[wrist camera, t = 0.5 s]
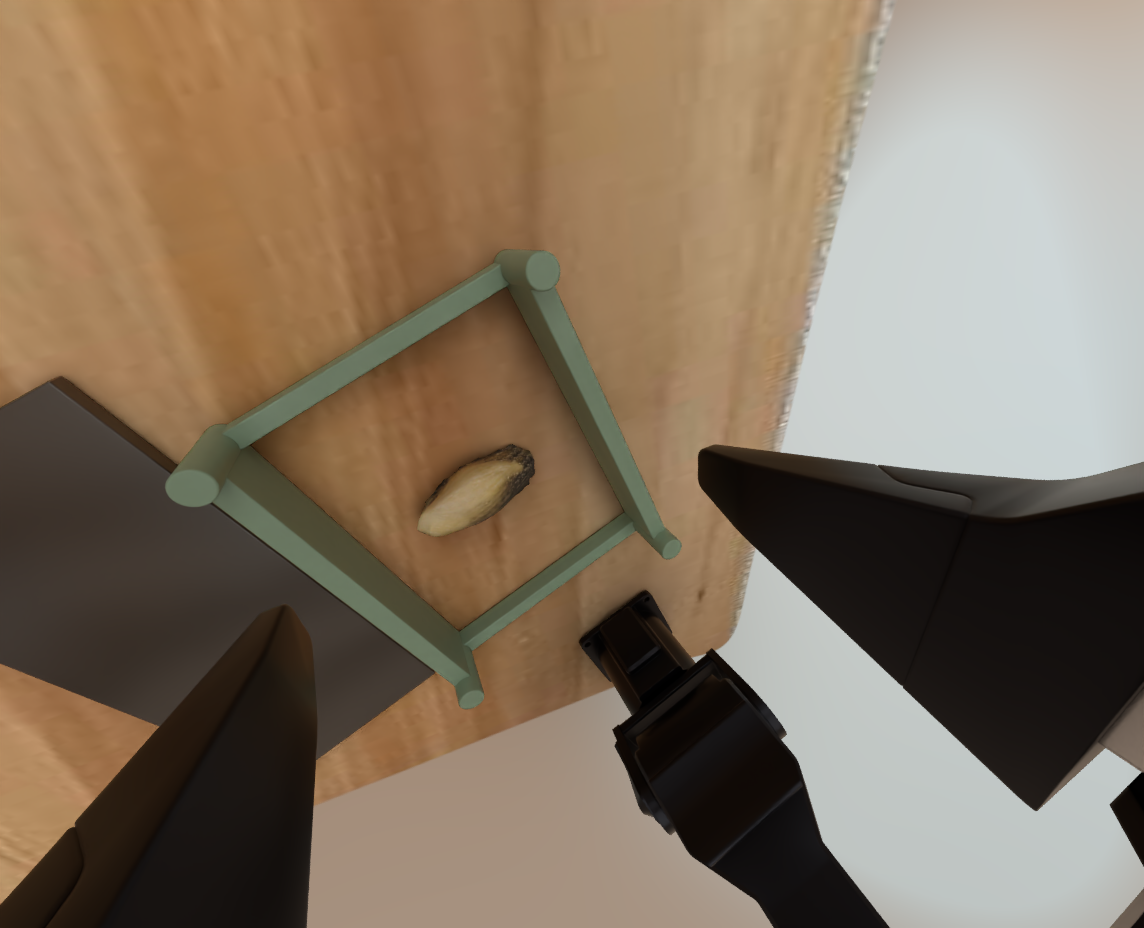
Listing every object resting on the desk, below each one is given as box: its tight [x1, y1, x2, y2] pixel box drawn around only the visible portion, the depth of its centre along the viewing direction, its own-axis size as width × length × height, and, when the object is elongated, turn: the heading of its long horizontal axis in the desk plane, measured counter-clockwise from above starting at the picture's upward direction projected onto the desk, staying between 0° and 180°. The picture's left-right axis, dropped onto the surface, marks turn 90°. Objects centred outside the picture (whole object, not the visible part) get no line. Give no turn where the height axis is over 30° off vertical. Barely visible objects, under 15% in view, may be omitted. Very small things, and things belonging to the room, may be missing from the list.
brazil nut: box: [417, 444, 535, 537], centre depth 23 cm, size 6×5×3 cm
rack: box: [165, 249, 682, 709], centre depth 22 cm, size 18×15×4 cm
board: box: [0, 376, 435, 760], centre depth 20 cm, size 22×10×1 cm, turn 27°
